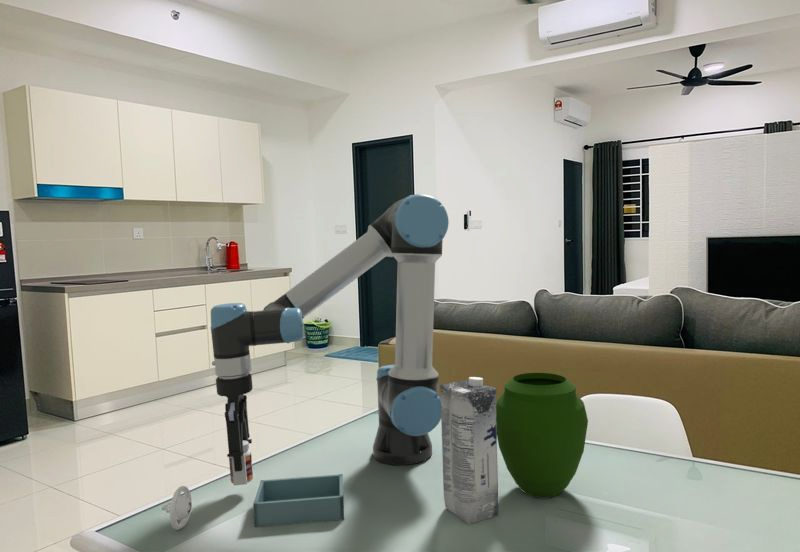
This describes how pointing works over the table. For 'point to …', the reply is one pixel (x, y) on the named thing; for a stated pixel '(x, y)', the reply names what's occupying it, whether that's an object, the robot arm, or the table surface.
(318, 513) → the bin
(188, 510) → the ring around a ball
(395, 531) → the table surface
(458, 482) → the juice carton
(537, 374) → the vase
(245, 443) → the pill bottle
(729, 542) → the table surface
